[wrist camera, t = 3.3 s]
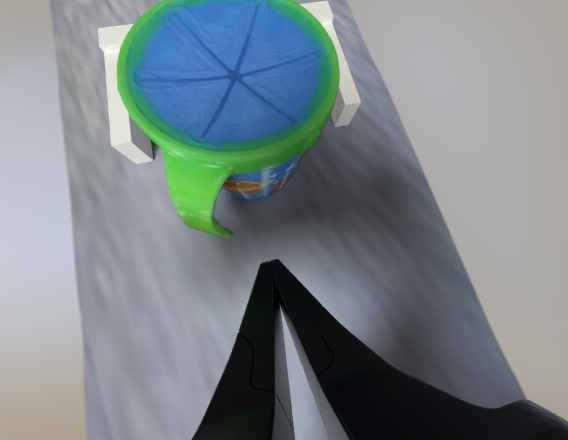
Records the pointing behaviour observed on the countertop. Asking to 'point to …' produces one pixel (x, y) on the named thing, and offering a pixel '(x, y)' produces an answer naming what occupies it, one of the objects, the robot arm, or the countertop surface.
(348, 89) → the centring cradle
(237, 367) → the robot arm
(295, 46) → the snack cup
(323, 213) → the countertop surface
